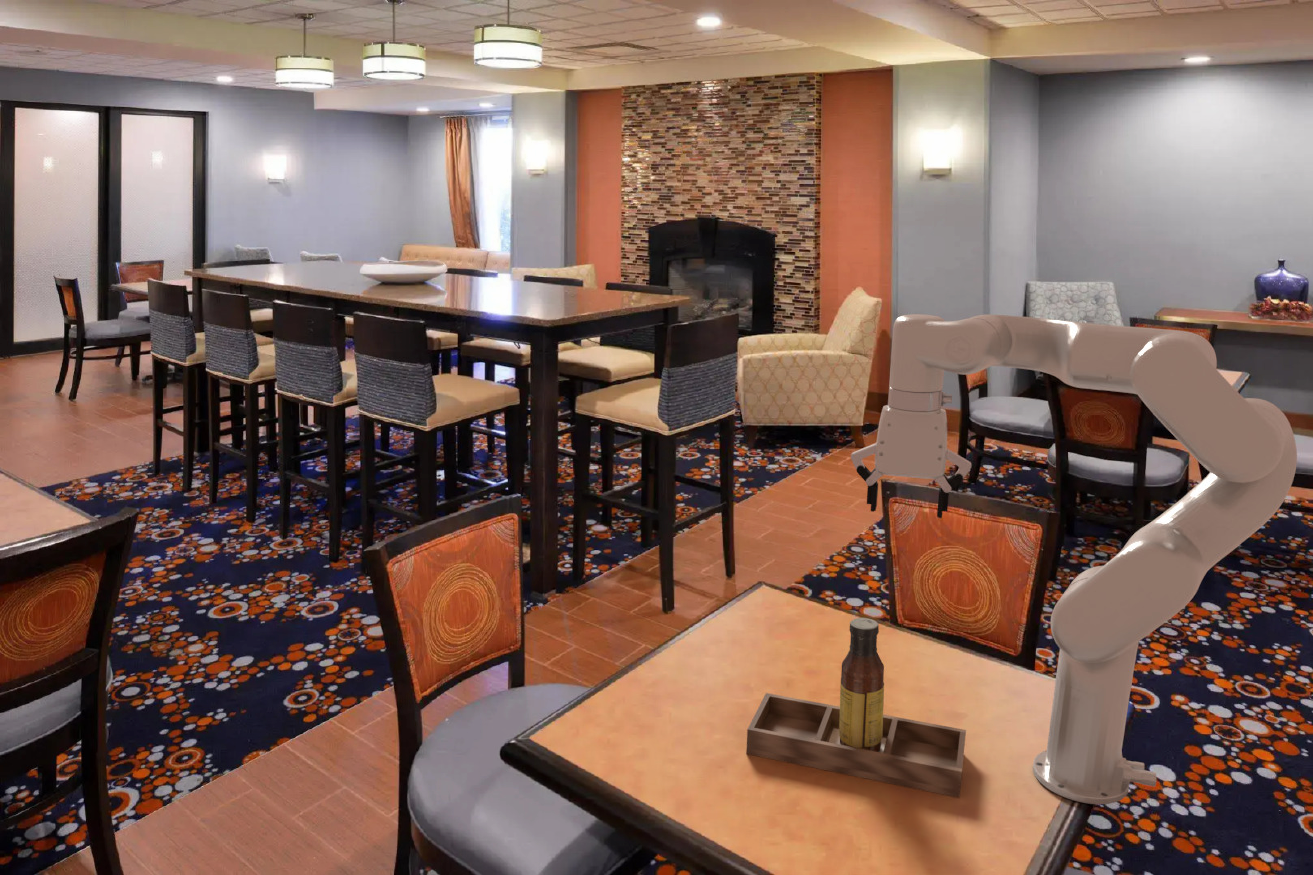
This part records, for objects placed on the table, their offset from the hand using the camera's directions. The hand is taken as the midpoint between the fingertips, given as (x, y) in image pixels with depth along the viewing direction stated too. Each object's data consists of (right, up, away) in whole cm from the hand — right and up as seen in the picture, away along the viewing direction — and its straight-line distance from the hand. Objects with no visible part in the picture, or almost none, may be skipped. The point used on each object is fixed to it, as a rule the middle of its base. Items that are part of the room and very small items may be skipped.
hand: (906, 512), depth 148 cm
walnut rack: (-8, -36, -2) cm, 37 cm away
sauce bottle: (-8, -35, -2) cm, 36 cm away
